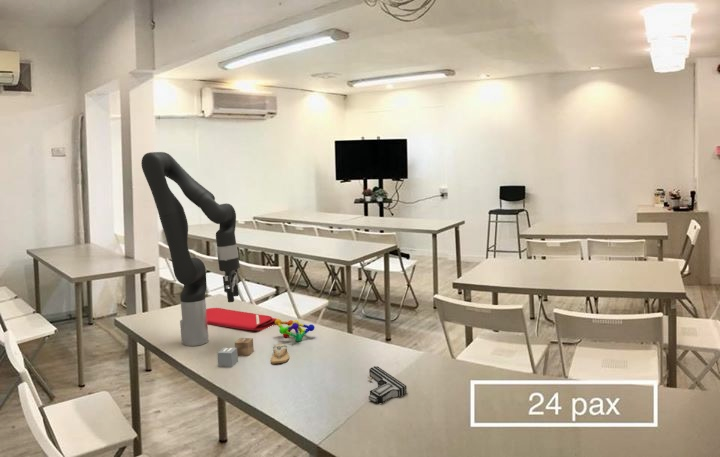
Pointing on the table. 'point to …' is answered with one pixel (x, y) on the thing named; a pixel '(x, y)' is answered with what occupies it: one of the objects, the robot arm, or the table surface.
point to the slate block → (227, 357)
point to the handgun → (385, 386)
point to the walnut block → (244, 346)
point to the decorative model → (295, 326)
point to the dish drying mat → (238, 319)
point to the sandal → (279, 354)
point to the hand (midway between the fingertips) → (233, 299)
